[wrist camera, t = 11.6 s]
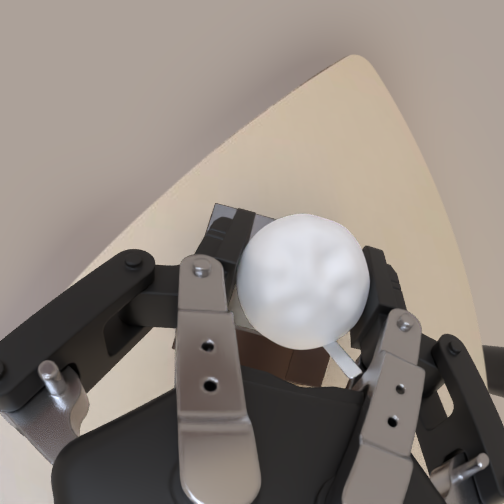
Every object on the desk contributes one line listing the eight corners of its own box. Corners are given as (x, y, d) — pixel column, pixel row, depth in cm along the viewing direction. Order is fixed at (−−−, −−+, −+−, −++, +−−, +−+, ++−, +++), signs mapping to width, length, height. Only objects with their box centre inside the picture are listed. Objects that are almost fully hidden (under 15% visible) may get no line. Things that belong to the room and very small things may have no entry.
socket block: (344, 251, 29) (358, 243, 25) (310, 378, 27) (320, 388, 23) (219, 216, 29) (215, 202, 25) (181, 343, 27) (171, 348, 23)
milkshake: (257, 355, 18) (279, 408, 8) (226, 268, 18) (213, 223, 9) (330, 327, 18) (420, 343, 8) (299, 243, 19) (359, 177, 9)
